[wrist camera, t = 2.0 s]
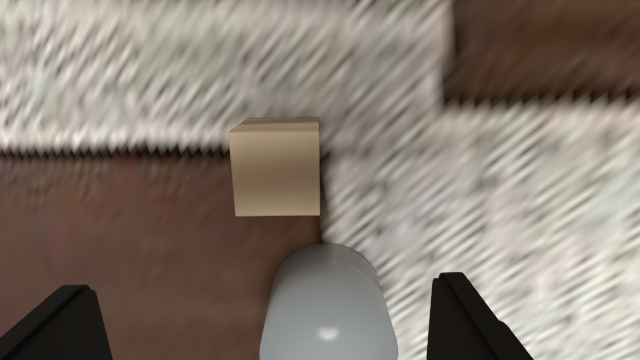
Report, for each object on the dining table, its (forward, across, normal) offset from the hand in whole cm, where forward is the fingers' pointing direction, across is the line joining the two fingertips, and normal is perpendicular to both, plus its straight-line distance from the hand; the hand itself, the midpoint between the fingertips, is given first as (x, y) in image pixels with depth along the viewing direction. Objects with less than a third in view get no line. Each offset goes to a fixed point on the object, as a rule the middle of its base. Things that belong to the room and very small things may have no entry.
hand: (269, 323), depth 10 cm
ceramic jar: (+17, -2, +11) cm, 21 cm away
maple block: (+17, +1, -1) cm, 17 cm away
